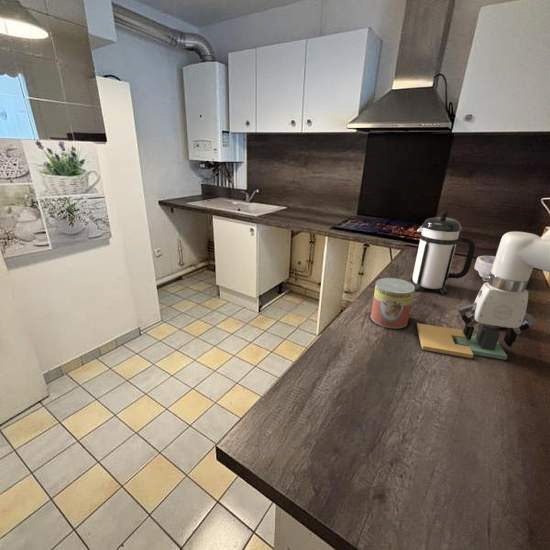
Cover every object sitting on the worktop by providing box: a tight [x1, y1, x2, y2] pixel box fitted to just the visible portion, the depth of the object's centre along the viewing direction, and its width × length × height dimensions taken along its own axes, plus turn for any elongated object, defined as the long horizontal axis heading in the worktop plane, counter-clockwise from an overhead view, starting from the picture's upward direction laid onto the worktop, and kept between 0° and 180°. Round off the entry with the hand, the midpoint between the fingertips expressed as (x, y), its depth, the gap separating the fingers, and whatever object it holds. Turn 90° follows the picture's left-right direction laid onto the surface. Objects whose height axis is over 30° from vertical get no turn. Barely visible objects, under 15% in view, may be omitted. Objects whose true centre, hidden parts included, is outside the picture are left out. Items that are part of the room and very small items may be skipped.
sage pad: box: [454, 323, 508, 361], centre depth 79 cm, size 10×8×6 cm
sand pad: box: [416, 322, 474, 359], centre depth 82 cm, size 12×12×1 cm
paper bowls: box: [473, 255, 496, 278], centre depth 123 cm, size 15×15×8 cm
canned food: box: [370, 277, 416, 330], centre depth 91 cm, size 11×11×12 cm
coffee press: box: [410, 210, 476, 295], centre depth 110 cm, size 17×16×30 cm
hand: (486, 340), depth 79 cm, fingers open, 9 cm apart
